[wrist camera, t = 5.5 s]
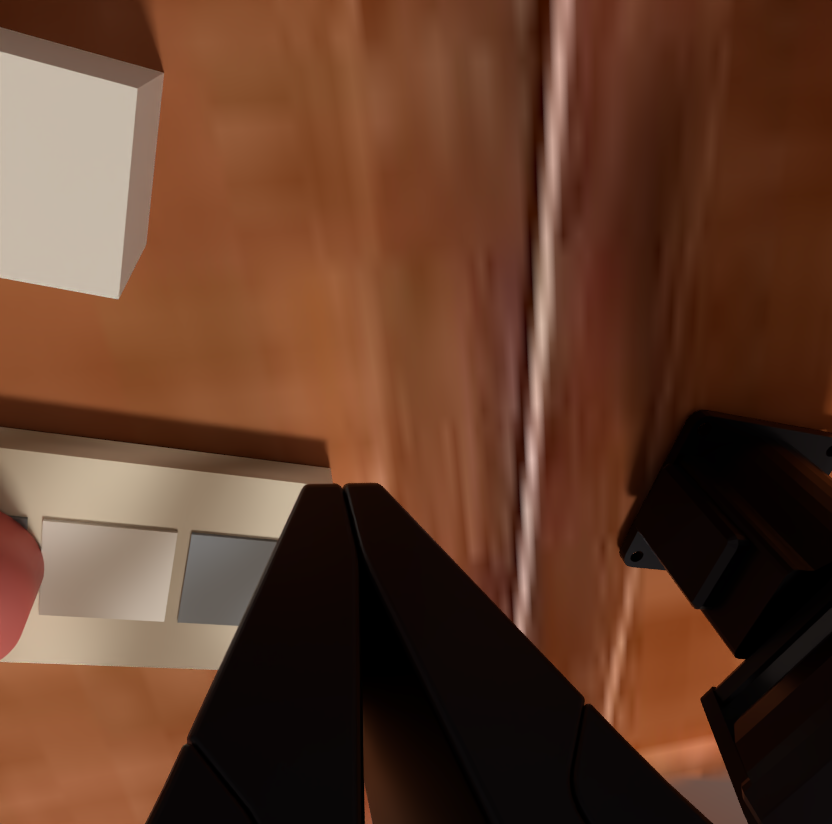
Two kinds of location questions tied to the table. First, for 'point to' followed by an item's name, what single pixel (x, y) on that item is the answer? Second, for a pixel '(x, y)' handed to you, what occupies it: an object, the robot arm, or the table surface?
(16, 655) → the track board
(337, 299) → the table surface
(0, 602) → the pawn
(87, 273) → the white cube
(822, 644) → the robot arm
